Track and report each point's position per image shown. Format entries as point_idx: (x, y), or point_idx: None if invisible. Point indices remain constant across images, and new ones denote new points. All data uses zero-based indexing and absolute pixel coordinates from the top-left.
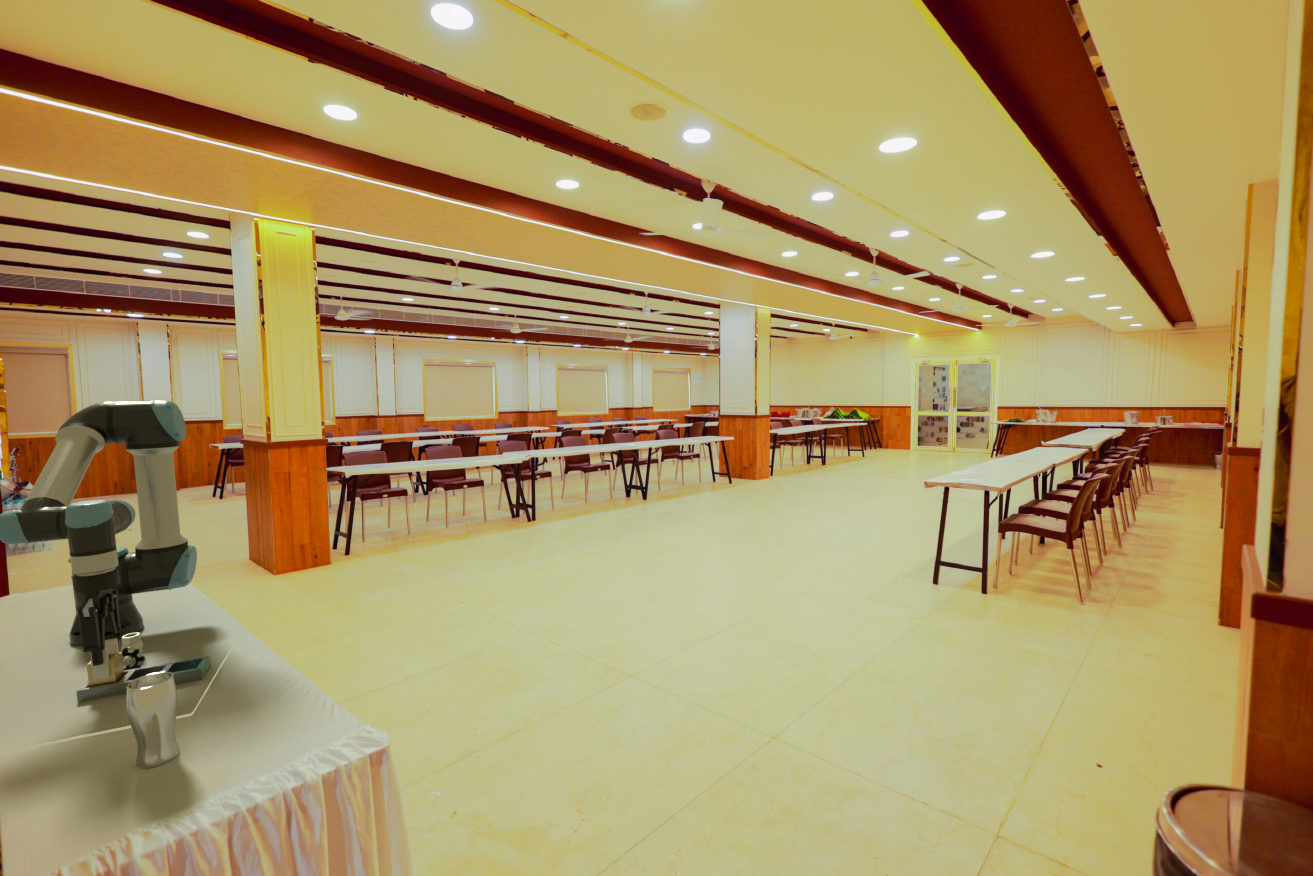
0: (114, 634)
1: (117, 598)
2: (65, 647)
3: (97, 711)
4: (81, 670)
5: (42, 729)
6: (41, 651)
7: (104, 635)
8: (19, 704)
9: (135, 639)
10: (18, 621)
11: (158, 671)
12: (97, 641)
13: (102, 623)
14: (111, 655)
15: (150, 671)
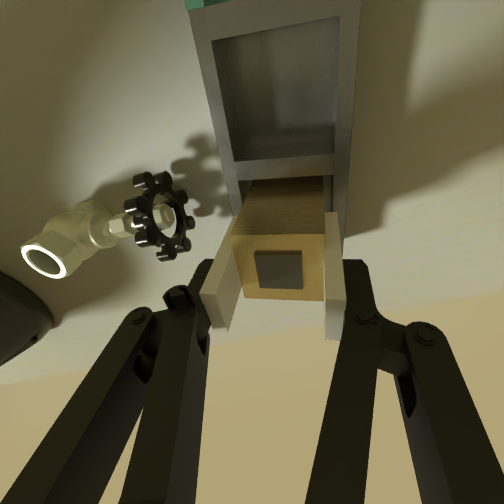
0: (195, 317)
1: None
2: (63, 330)
3: (432, 174)
4: (148, 289)
5: (462, 260)
6: (80, 348)
7: (337, 372)
8: (279, 325)
9: (55, 242)
10: (10, 379)
11: (224, 78)
12: (464, 385)
13: (361, 496)
14: (269, 257)
15: (230, 108)
